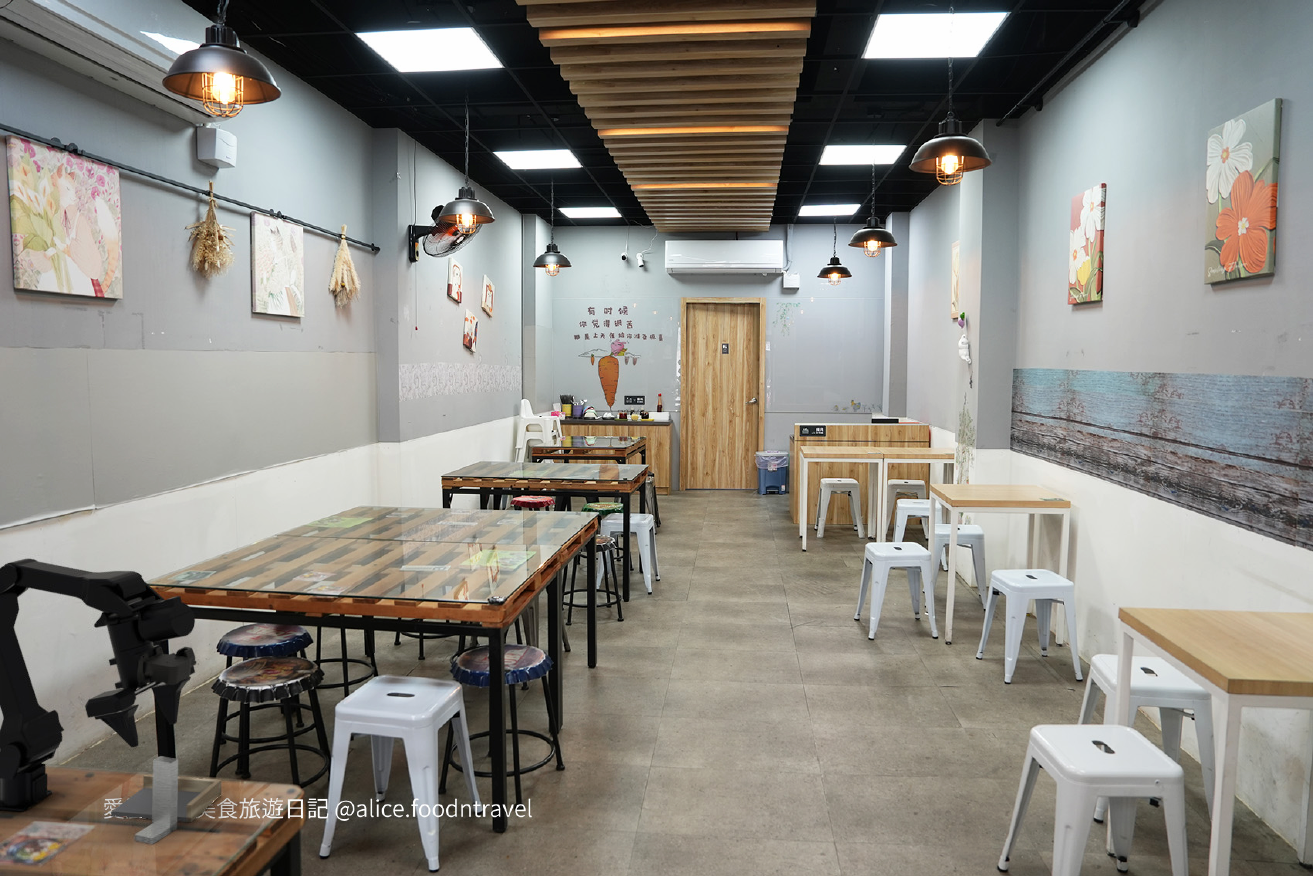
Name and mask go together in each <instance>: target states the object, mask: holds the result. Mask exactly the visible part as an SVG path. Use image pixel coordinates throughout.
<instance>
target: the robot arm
mask: <svg viewBox="0 0 1313 876" xmlns="http://www.w3.org/2000/svg"><path fill="white" fill-rule="evenodd" d="M29 589H32V590H37V591H44V592H47V593H53V594H58V595H62V596H68V597H73V598H76V599H79V600H81V601H82V602H83V604H84V605H86V606H87V607H90V608H92V609H95V610H98V611H100V612H101V614H100V616H99V618H98V619H97V620H96V622H94V624H93V626H94V628H103V627H106V629H107V633H108V636H109V640H110V644H111V648H112V649H111V650H112V652H113V656H114V657H112V658H110V659H108V662H109V666H115V665H116V669H117V672H118V677H119V681H117V682H115V683H114V686H115V689H114V690H109V691H104V692H101V693H100V694H97V695H94V697H91V698H88V699H87V702H86V704H85V705H84V707H85V712H86V715H87V718H88V719H89V718H94V719H95V720H96V721H97V720H101V721H102V722H104V724H106V725H107V726H108V727H109V728H110V729H112V730H113V731H114V732H115V733H116V734H117V735H118V736H119V737H120V738H121V739H122V740H123V741H124V742H125V743H126V744H127V745H128V746H129V747H130V748H136V747H138V746H139V736H138V735H139V734H138V729H137V724H136V719H135V713H136V711H137V710H138V708H139V704H135V702H136V700H137V696H138V695H140V694H142V693H144V692H146V691H148V690H150V689H151V691H152V693H153V695H154V696H155V698H156V701H157V703H158V705H159V707H160V710H161V711H162V714H163V715H164V717H165V719H166V721H167V722H168V724H169V725H175V724H176V723H178V715H179V708H180V707H179V706H180V699H181V694H182V690H183V688H184V687H185V686H186V684H187V683H188V682H189V681H190V680H191V678H192V676H191V675H193V674H195V673H196V670H195V667H194V666H196V665H197V660H196V655H195V652H194V650H193V647H189V646H183V647H181V648H179V649H178V650H177V651H176V652H172V653H169V654H166V653H164V652H163V647H162V646H161V645H160V644H158V645H157V644H156V645H154V643H157V642H163V641H167V640H171V639H177V638H182V637H187V636H189V635H190V634H191V633H192V631H193V630H194V628H195V624H196V616H195V612H194V611H193V610H192V608H191V607H190V606H189V605H188V604H187V603H185V602H182V598H181V596H180V595H177V596H173V597H170V598H166V599H165V598H164V597H163V596H161V595H160V594H159V593H158V592H157V591H156V590H155V589H154V588H152V586H151V585H150V584H148V583H147V582H146V581H145V580H144V578H143V575H142V574H140V573H139V572H137V571H134V570H113V571H112V570H111V571H100V572H99V571H98V572H97V571H96V572H95V571H89V570H88V571H87V570H83V569H78V568H72V567H69V566H64V565H63V566H62V565H57V564H53V563H48V562H44V561H43V562H42V561H38V560H36V559H34V558H24V559H19V560H15V561H11V562H7V563H5V564H4V565H3V566H1V567H0V711H1V713H2V718H3V719H2V723H1V726H0V811H13V812H25V811H28V810H29V809H31V808H32V807H33V806H35V805H37V804H38V803H40V802H42V801H43V800H44V799H47V798H48V797H50V796H51V795H52V794H53V790H51V789H50V790H48V773H46V763H45V762H46V761H48V760H51V759H54V756H55V755H56V751H57V749H58V748H59V747H60V745H61V743H62V742H63V732H64V731H65V729H64V728H63V726H62V724H61V722H60V717H59V712H58V711H57V710H56V709H53V710H50V711H48V710H46V708H43V707H42V706H41V705H40V704H39V702H38V699H37V695H36V693H35V689H34V686H33V683H32V679H31V677H30V674H29V671H28V668H27V664H26V660H25V658H24V655H23V652H22V649H21V646H20V643H19V640H18V636H17V633H16V630H15V624H16V622H17V618H18V615H19V611H20V606H19V605H20V604H19V600H18V598H19V597H21V596H22V595H23V594H24V593H25V592H26V591H28V590H29Z"/></svg>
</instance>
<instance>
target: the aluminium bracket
mask: <svg viewBox="0 0 1313 876" xmlns="http://www.w3.org/2000/svg"><path fill="white" fill-rule="evenodd" d="M152 775H153V802H152V819H151V824H149V825H148V826H146V827H145V828H143V829H141V830H139V832H137V833H135V834H134V841H135V842H140V843H144V844H148V845H149V844H150V845H154V844H155V843H157V842H159V841H160V840H162V839H164V838H166V837H167V836H168V835H170V834H171V833H172V832H174V831H175V830H177V829H178V821H177V800H178V777H179V759H178V758H173V757H169V756H164V755H163V756H162V755H160V756H157V757H156V758H154V759H153V761H152Z"/></svg>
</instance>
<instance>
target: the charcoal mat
mask: <svg viewBox="0 0 1313 876" xmlns="http://www.w3.org/2000/svg"><path fill="white" fill-rule="evenodd" d="M220 793H221V794H220ZM220 793H219V796H220V795H221V796H222V791H221V792H220ZM199 794H201V792H189V791H178V800H177V822H183V823H188V822H187V804H189V803H190V802H191V801H192V800H193V799H195V798H196V797H197V796H198V795H199ZM216 798H217V797H216ZM152 802H153V789H150V788H143V787H142V788H141V789H140V790H138V791H137V792H135V793H134V794H133V795H132V796H130V797H129V798H127V799H126V800H124V801H123V802H122V803H120V805H118V806H117V807H115V808H114V809H113V810H111V813H110V816H111V815H114V816H113V817H118V816H127V817H126V818H130V817H142V818H141V819H143V818H148V819H147V820H152ZM210 803H211V802H210ZM209 805H210V804H209ZM209 805H207V806H209ZM210 806H211V805H210ZM210 806H209V807H210ZM204 807H206V806H204ZM206 808H207V807H206ZM207 809H208V808H207ZM201 810H202V809H201ZM200 813H201V814H202V813H203V812H202V811H200ZM115 815H116V816H115ZM199 816H200V815H199V814H198V813H197V818H198V817H199ZM193 817H195V816H193ZM193 819H194V818H192V820H193ZM192 820H191V821H192ZM194 820H195V819H194ZM194 820H193V821H194ZM191 821H190V822H189V823H192V822H193V821H192V822H191Z"/></svg>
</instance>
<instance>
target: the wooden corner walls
mask: <svg viewBox="0 0 1313 876" xmlns="http://www.w3.org/2000/svg"><path fill="white" fill-rule="evenodd" d="M199 778H200V777H188V776H178V791H189V792H201V794H199V795H198V796H197V797H196V798H195V799H193V800H192V801H191V802H190V803H189V804H187V822H186V823H192V822H193V821H195V819H197V818H198V817H197V813H198V814H199V816H200V815H202V813H203V812H205V809H206V807H208V806H207V805H209V804H211V803H212V802H213V800H215V799H216V797H219V793H220V792H221V793H220V794H221V795H222V781H223V780H222V779H215V778H203V779H199ZM142 780H143V783H142V788H150V789H153V774H149V773H148V774H147V773H146V774H145V775H143V778H142ZM219 798H220V797H219ZM210 802H211V803H210ZM211 805H212V804H211ZM204 806H206V807H204ZM208 808H209V807H208ZM201 809H202V810H201ZM206 810H207V809H206ZM200 811H202V813H200ZM193 816H195V817H193ZM196 817H197V818H196ZM192 818H194V819H193V820H192ZM191 820H192V821H191ZM190 821H191V822H190Z"/></svg>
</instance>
